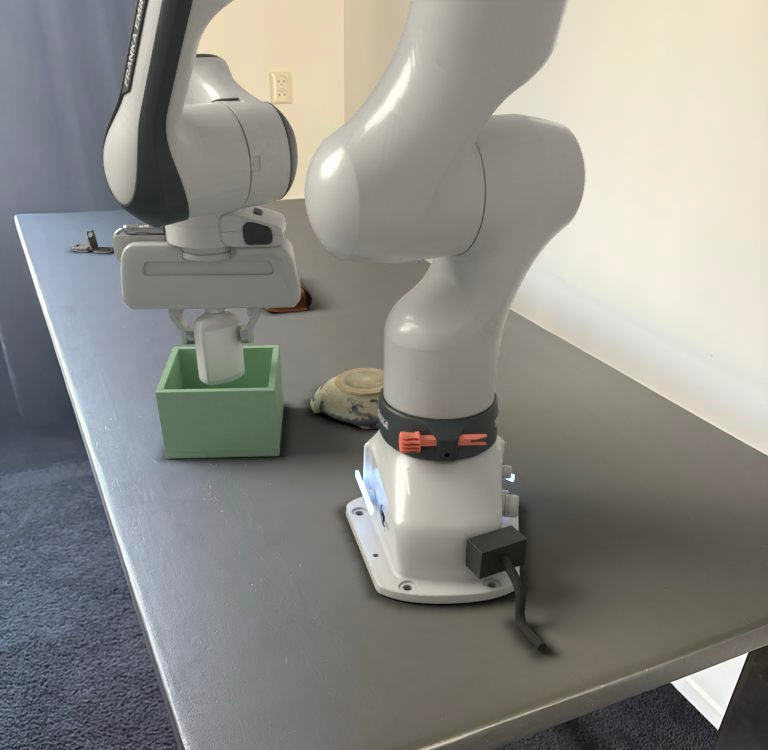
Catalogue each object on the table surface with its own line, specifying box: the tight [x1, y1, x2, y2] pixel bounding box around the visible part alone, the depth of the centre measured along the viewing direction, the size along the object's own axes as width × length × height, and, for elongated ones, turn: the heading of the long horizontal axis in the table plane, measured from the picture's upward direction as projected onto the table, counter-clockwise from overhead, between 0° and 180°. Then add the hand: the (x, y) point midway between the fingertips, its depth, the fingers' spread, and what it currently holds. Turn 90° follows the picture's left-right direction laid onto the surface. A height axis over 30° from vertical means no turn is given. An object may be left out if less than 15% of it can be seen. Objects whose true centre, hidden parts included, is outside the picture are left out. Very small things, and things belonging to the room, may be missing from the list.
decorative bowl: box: [309, 367, 384, 430], centre depth 108 cm, size 15×4×15 cm
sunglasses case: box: [264, 281, 313, 313], centre depth 144 cm, size 18×7×7 cm, turn 22°
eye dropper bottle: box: [192, 308, 245, 386], centre depth 94 cm, size 4×6×12 cm
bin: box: [154, 344, 284, 460], centre depth 99 cm, size 14×14×9 cm
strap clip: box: [71, 228, 114, 254], centre depth 166 cm, size 8×3×4 cm, turn 81°
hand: (218, 342), depth 95 cm, fingers closed on eye dropper bottle, 5 cm apart
